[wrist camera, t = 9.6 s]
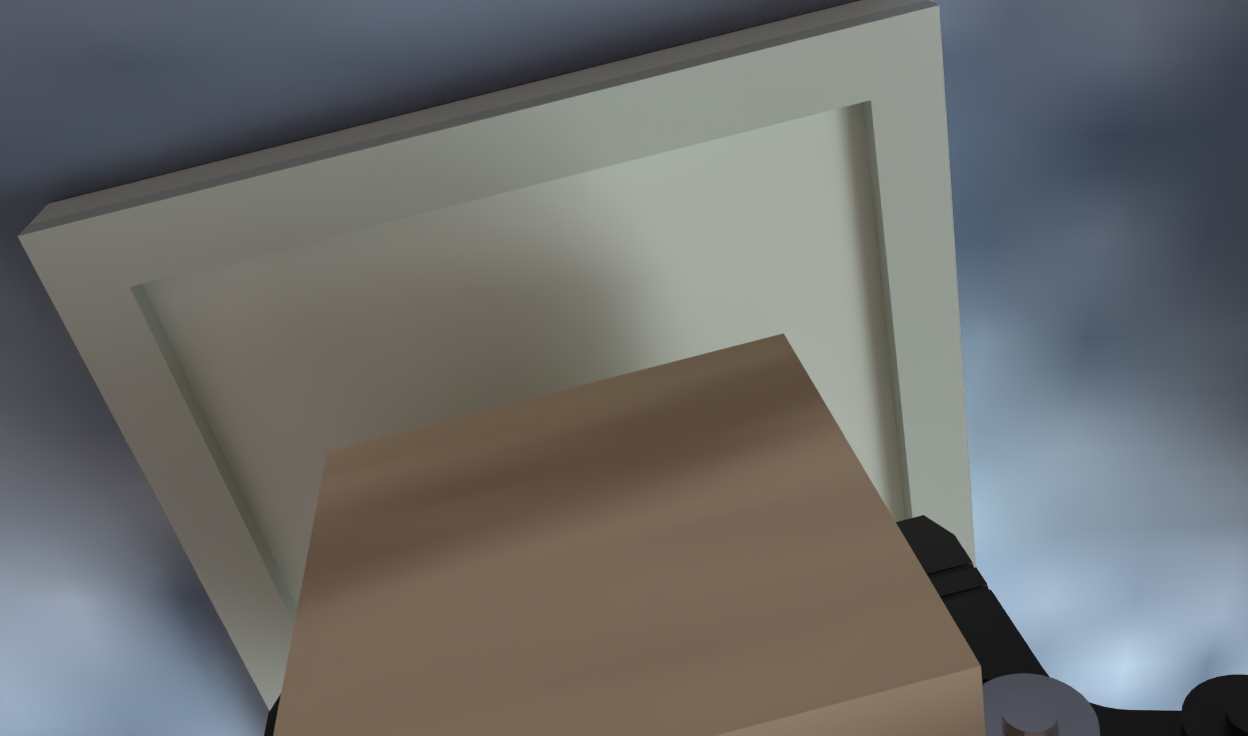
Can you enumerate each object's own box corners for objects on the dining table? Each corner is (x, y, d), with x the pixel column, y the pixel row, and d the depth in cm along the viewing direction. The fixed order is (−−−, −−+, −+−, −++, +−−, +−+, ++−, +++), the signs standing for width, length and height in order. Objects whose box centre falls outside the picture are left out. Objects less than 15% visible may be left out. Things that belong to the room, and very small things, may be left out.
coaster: (47, 203, 15) (17, 236, 14) (905, -12, 15) (939, 5, 14) (344, 787, 21) (338, 841, 20) (956, 627, 21) (983, 673, 20)
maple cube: (326, 450, 14) (249, 857, 9) (783, 332, 14) (980, 665, 9) (460, 765, 17) (463, 1212, 12) (837, 667, 17) (1008, 1066, 12)
